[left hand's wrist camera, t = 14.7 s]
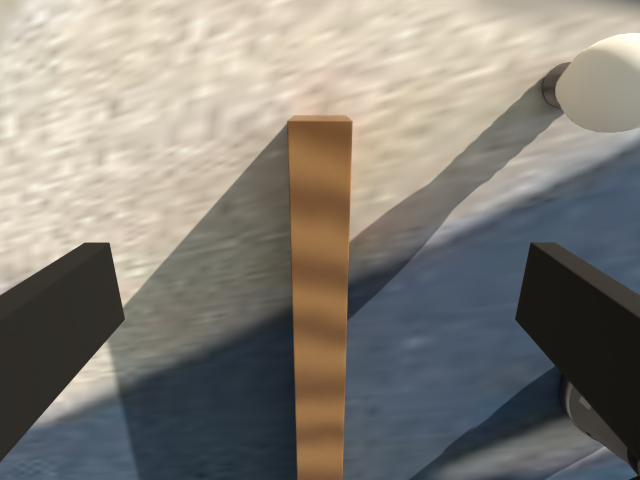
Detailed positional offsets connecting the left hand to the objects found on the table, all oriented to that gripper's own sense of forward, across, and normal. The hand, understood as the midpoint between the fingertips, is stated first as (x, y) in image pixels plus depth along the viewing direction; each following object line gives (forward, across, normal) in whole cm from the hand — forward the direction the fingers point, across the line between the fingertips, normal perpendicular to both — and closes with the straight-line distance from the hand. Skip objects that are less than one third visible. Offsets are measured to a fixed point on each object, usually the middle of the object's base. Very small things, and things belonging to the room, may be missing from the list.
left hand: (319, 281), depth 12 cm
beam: (+26, 0, -33) cm, 42 cm away
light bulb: (+27, +22, +6) cm, 35 cm away
